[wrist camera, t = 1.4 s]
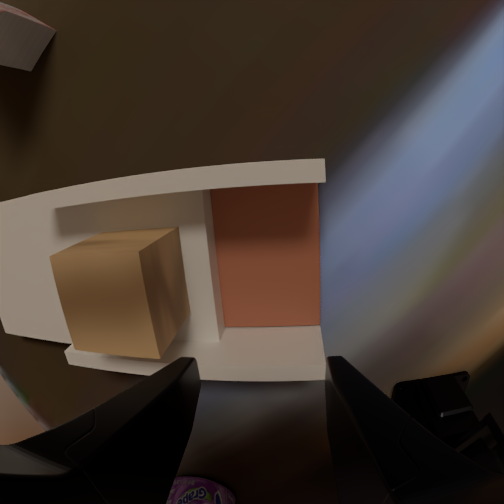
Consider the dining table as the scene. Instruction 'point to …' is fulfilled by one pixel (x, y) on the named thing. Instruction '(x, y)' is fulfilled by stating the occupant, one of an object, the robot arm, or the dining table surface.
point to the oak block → (123, 291)
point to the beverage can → (199, 492)
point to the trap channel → (188, 264)
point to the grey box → (21, 38)
